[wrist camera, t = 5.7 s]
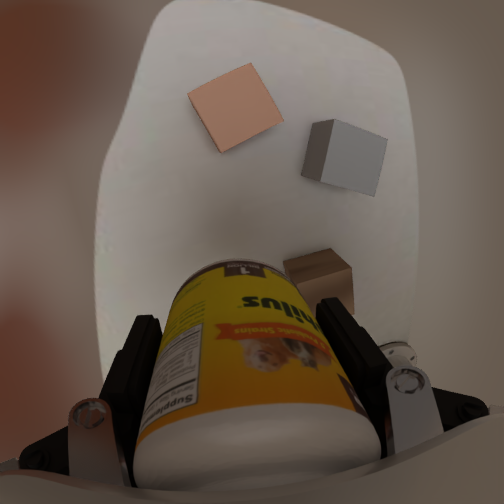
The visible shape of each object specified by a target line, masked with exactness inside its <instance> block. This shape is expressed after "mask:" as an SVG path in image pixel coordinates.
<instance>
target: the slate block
mask: <svg viewBox="0 0 504 504" xmlns="http://www.w3.org/2000/svg"><path fill="white" fill-rule="evenodd" d="M387 140H388V139H386V138H383V137H381V136H379V135H376V134H374V133H371V132H369V131H366V130H364V129H361V128H358V127H356V126H353V125H350V124H347V123H345V122H342V121H339V120H336V119H332V120H326V121H321V122H317V123H313V124H312V129H311V134H310V138H309V142H308V147H307V151H306V156H305V160H304V164H303V169H302V173H301V175H302V176H305V177H308V178H311V179H314V180H317V181H319V182H323V183H327V184H331V185H334V186H338V187H342V188H345V189H349V190H352V191H356V192H359V193H363V194H366V195H369V196H373V197H374V196H375V192H376V188H377V184H378V180H379V176H380V172H381V168H382V163H383V159H384V155H385V150H386V145H387Z"/></svg>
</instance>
